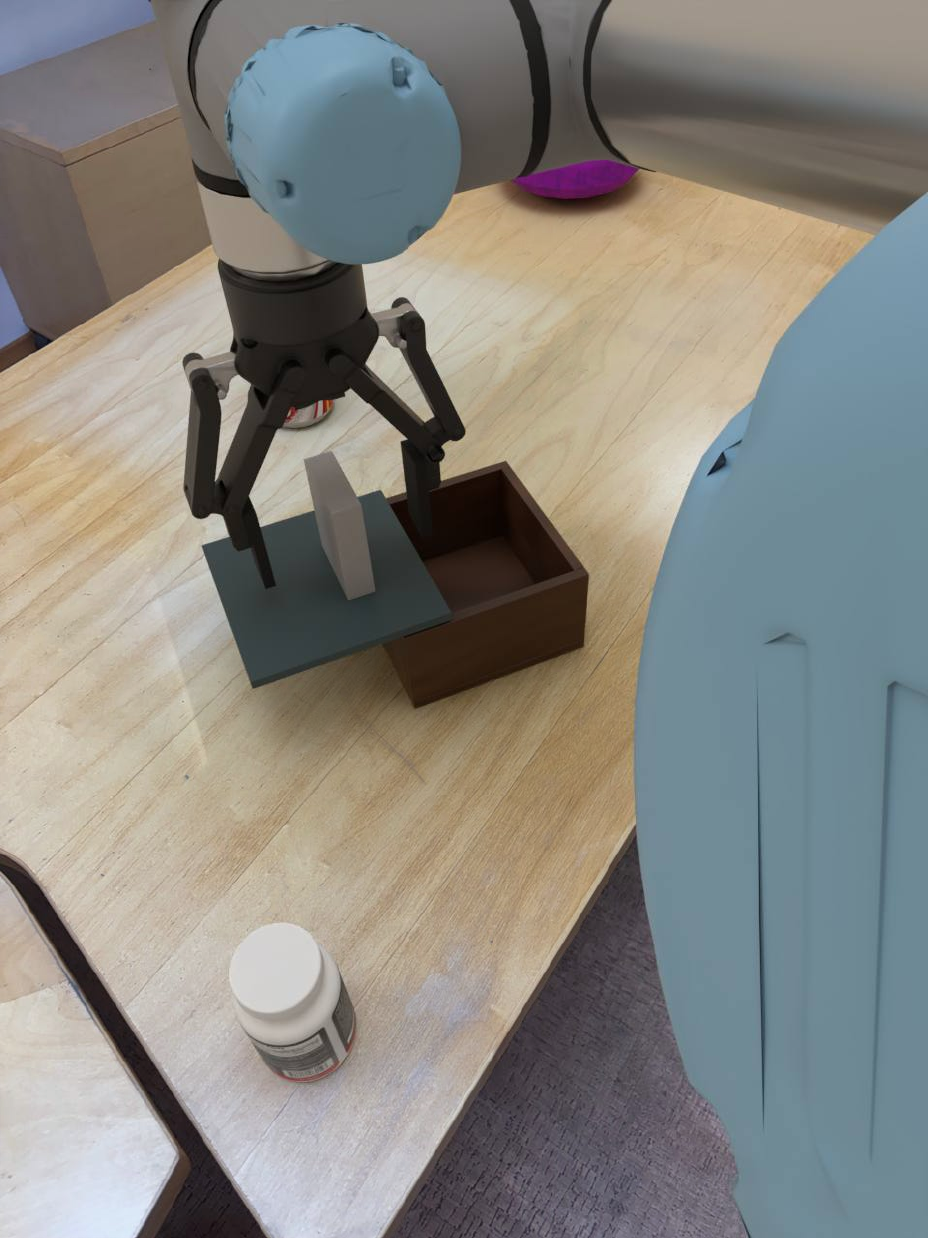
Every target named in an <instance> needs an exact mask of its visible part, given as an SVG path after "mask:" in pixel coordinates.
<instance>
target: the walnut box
mask: <svg viewBox="0 0 928 1238" xmlns="http://www.w3.org/2000/svg"><path fill="white" fill-rule="evenodd" d="M385 498H386V499H387V501H388V503H389V505H390V506H391V508H392V510H393V512H394V513H395V515H396V517H397V519H398V520H399V522H400V524H401V526H402V527H403V529H404V531H405V533H406V534H407V536H408V538H409V539H410V541H411V543H412V545H413V546H414V548H415V550H416V552H417V553H418V555H419V557H420V559H421V560H422V562H423V564H424V566H425V567H426V569H427V571H428V573H429V574H430V576H431V578H432V579H433V581H434V583H435V585H436V586H437V588H438V590H439V592H440V593H441V595H442V597H443V599H444V600H445V602H446V604H447V606H448V607H449V609H450V611H451V615H452V620H449V621H447V622H444V623H441V624H438V625H435V626H432V627H429V628H427V629H424V630H421V631H418V632H415V633H412V634H409V635H407V636H404V637H401V638H398V639H395V640H392V641H389V642H387V643H384V644H382V646H383V649H384V650H385V653H386V654H387V657H388V659H389V661H390V662H391V665H392V667H393V668H394V670H395V671H394V672H396V675H397V677H398V679H399V681H400V682H401V685H402V687H403V689H404V691H405V693H406V694H407V697H408V699H409V701H410V703H411V706H412V707H413V709H414V710H416V709H419V708H422V707H424V706H426V705H429V704H432V703H434V702H437V701H440V700H443V699H445V698H448V697H451V696H455V695H457V694H459V693H462V692H465V691H467V690H470V689H472V688H475V687H478V686H481V685H483V684H486V683H490V682H492V681H494V680H497V679H500V678H502V677H506V676H509V675H511V674H513V673H516V672H519V671H522V670H525V669H528V668H529V667H532V666H535V665H538V664H540V663H543V662H546V661H548V660H552V659H554V658H557V657H560V656H562V655H565V654H568V653H570V652H573V651H575V650H579V649H581V648H583V647H585V638H586V637H585V635H586V621H587V610H588V609H587V608H588V595H589V594H588V593H589V579H590V573H589V571H587V569H586V568H585V566H584V565H583V564H582V562H581V561H580V559H579V558H578V557H577V556H576V554H575V553H574V551H573V550H572V549H571V547H570V546H569V545H568V543H567V542H566V541H565V539H564V538H563V536H562V535H561V534H560V532H559V531H558V530H557V528H556V527H555V525H554V524H553V523H552V521H551V520H550V519H549V517H548V515H546V513H545V512H544V510H543V509H542V507H541V506H540V505H539V504H538V502H537V501H536V500H535V498H534V497H533V496H532V494H531V493H530V491H529V490H528V489H527V487H526V486H525V484H524V482H522V481H521V478H519V477H518V475H517V474H516V472H515V471H514V470H513V468H512V467H511V465H510V464H509V463H508V461H507V460H504V461H503V460H502V461H501V462H500V461H499V462H497V463H494V464H491V465H488V466H484V467H481V468H477V469H474V470H471V471H469V472H466V473H461V474H459V475H456V476H452V477H449V478H446V479H443V480H442V479H441V483H440V486H439V488H437V489H434V490H431V491H429V500H430V510H431V521H432V531H433V535H430V536H427V537H424V538H423V537H422V536H421V534H420V532H419V531H418V529H417V527H416V526H415V524H414V522H413V520H412V519H411V517H410V515H409V511H408V502H407V494H406V491H404V492H400V493H398V494H395V495H391V496H388V497H385Z"/></svg>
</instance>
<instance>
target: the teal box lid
mask: <svg viewBox="0 0 928 1238" xmlns="http://www.w3.org/2000/svg"><path fill="white" fill-rule="evenodd" d="M303 463H304V468H305V473H306V478H307V481H308V487H309V491H310V496H311V500H312V501H311V502H312V505H313V509H314V510H311V511H310V510H309V511H307V512H305V513H301V514H298V515H295V516H292V517H287V518H285V519H281V520H278V521H275V522H273V523H269V524H266V525H262V526H260V528H261V532H262V535H263V539H264V543H265V546H266V550H267V554H268V557H269V561H270V565H271V568H272V572H273V576H274V579H275V583H276V586H274V587H271V588H268V589H265V587H264V584H263V582H262V579H261V577H260V575H259V572H258V570H257V567H256V565H255V562H254V558H253V555H252V551H251V548H248V549H245V550H242V551H239V552H238V551H237V550H236V549H235V548H234V547H233V544H232V542H231V539H230V537H229V536H227V537H224V538H221V539H218V540H213V541H210V542H207V543H205V544H204V543H203V544H201V549H202V552H203V555H204V557H205V561H206V563H207V566H208V569H209V571H210V575H211V577H212V580H213V583H214V586H215V588H216V591H217V594H218V596H219V597H218V598H219V599H220V603H221V605H222V608H223V611H224V613H225V617H226V619H227V622H228V624H229V627H230V630H231V633H232V636H233V639H234V641H235V644H236V647H237V649H238V650H237V651H238V652H239V656H240V659H241V661H242V664H243V666H244V669H245V672H246V675H247V677H248V681H249V683H250V686H251V688H252V690H255V689H257V688H260V687H264V686H267V685H269V684H272V683H275V682H277V681H280V680H284V679H287V678H289V677H292V676H295V675H298V674H301V673H303V672H304V673H305V672H306V671H309V670H313V669H315V668H318V667H320V666H323V665H326V664H329V663H332V662H335V661H338V660H340V659H343V658H347V657H349V656H352V655H354V654H358V653H361V652H364V651H366V650H369V649H372V648H376V647H378V646H381V645H383V644H384V643H387V642H389V641H392V640H395V639H398V638H401V637H404V636H407V635H409V634H412V633H415V632H418V631H421V630H424V629H427V628H429V627H432V626H435V625H438V624H441V623H444V622H447V621H449V620H452V615H451V611H450V609H449V607H448V606H447V604H446V602H445V600H444V599H443V597H442V595H441V593H440V592H439V590H438V588H437V586H436V585H435V583H434V581H433V579H432V578H431V576H430V574H429V573H428V571H427V569H426V567H425V566H424V564H423V562H422V560H421V559H420V557H419V555H418V553H417V552H416V550H415V548H414V546H413V545H412V543H411V541H410V539H409V538H408V536H407V534H406V533H405V531H404V529H403V527H402V526H401V524H400V522H399V520H398V519H397V517H396V515H395V513H394V512H393V510H392V508H391V506H390V505H389V503H388V501H387V499H386V498H387V497H386V496H385V494H384V493H383V491H382V489H379V490H375V491H372V492H369V493H366V494H362V495H359V496H357V493H356V492H355V491H354V488H353V486H352V485H351V483H350V481H349V479H348V477H347V475H346V473H345V472H344V470H343V468H342V467H341V465H340V462H339V461H338V459H337V457H336V455H335V454H334V452H333V451H332V450H330V451H327V452H323V453H320V454H316V455H314V456H313V455H312V456H310V457H306V458H303Z"/></svg>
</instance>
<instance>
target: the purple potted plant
mask: <svg viewBox="0 0 928 1238" xmlns="http://www.w3.org/2000/svg"><path fill="white" fill-rule="evenodd" d="M639 170H640V169H639V168H635V167H631V166H628V165H624V164H621V163H617V162H614V161H610V160H593V161H587V162H582V163H578V164H574V165H570V166H565V167H561V168H557V169H553V170H548V171H544V172H540V173H535V174H531V175H528V176H526V177H520V178H516V179H512V180H510V182H511V183H513V184H514V185H516V186H517V187H519V188H520V189H522V190H523V191H525V192H528V193H531V194H535V195H538V196H540V197H547V198H553V199H563V200H564V199H565V200H567V199H586V198H592V197H596V196H600V195H601V196H602V195H605V194H608V193H611V192H613V191H615V190H617V189H620V188H621V187H624V186H625V185H626V184H627V183H628V182H629V181H630V179H632V178H633V177H634V175H636V173H637V172H639Z"/></svg>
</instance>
